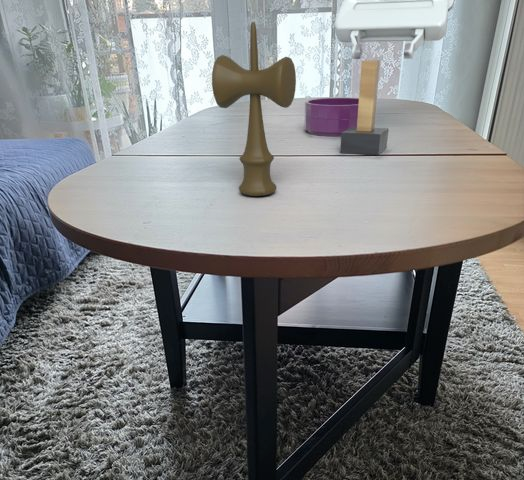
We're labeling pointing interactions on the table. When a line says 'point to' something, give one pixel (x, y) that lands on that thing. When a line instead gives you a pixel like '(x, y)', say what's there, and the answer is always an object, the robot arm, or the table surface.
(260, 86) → the kendama
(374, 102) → the brush
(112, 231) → the table surface
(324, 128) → the bowl
